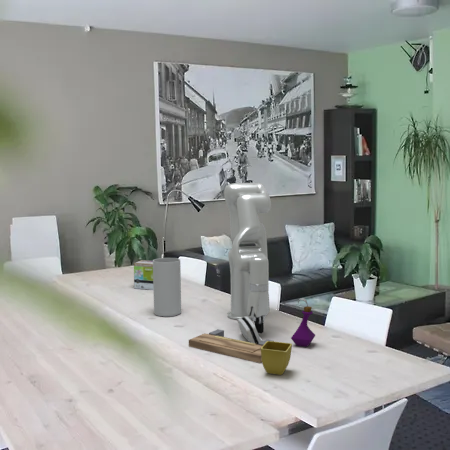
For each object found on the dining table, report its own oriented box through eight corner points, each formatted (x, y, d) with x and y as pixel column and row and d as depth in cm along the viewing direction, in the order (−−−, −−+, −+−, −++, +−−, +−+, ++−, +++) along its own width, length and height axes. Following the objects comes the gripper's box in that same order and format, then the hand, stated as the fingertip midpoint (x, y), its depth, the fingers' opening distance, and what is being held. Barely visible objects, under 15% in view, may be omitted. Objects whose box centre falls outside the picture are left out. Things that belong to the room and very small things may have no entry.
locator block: (218, 336, 229) (217, 329, 229) (224, 337, 227) (224, 330, 227) (208, 340, 224) (208, 332, 224) (215, 341, 222) (214, 334, 222)
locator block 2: (267, 347, 216) (267, 339, 215) (273, 348, 214) (273, 340, 214) (258, 351, 211) (258, 343, 210) (265, 352, 209) (265, 344, 209)
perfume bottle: (315, 343, 220) (316, 297, 218) (309, 349, 213) (310, 301, 211) (296, 340, 223) (297, 295, 221) (290, 346, 216) (290, 299, 214)
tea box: (133, 289, 316) (133, 262, 314) (141, 285, 325) (140, 259, 323) (158, 290, 311) (158, 263, 310) (166, 286, 321) (165, 260, 319)
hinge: (265, 345, 217) (257, 322, 215) (254, 350, 216) (245, 327, 214) (253, 332, 233) (245, 310, 231) (243, 337, 232) (235, 315, 231)
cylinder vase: (149, 315, 261) (147, 261, 258) (162, 309, 272) (161, 257, 270) (173, 318, 256) (172, 263, 253) (185, 311, 268) (184, 258, 265)
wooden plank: (204, 339, 225) (204, 332, 225) (274, 355, 207) (274, 347, 206) (188, 346, 217) (188, 339, 217) (260, 363, 199) (260, 355, 198)
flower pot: (292, 369, 193) (292, 343, 192) (286, 378, 185) (286, 351, 184) (267, 366, 196) (267, 340, 195) (260, 375, 188) (260, 348, 187)
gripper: (260, 283, 236) (261, 326, 238) (240, 289, 223) (241, 335, 225) (276, 285, 231) (276, 329, 233) (257, 292, 219) (257, 338, 221)
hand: (259, 332), depth 229 cm, fingers closed
